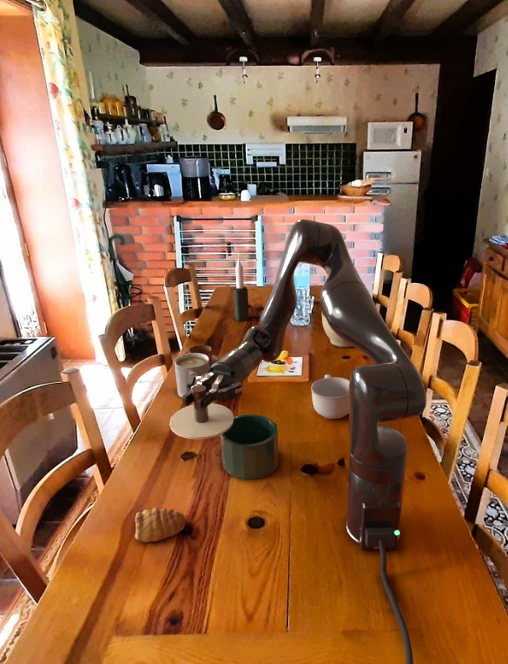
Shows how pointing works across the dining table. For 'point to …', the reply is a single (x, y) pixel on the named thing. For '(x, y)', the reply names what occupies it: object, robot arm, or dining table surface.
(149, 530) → the pastry
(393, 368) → the robot arm
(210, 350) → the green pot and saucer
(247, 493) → the dining table surface
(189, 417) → the lid
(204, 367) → the coffee mug
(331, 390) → the teacup
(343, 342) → the planter bowl
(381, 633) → the dining table surface
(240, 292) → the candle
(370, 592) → the dining table surface
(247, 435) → the green pot
